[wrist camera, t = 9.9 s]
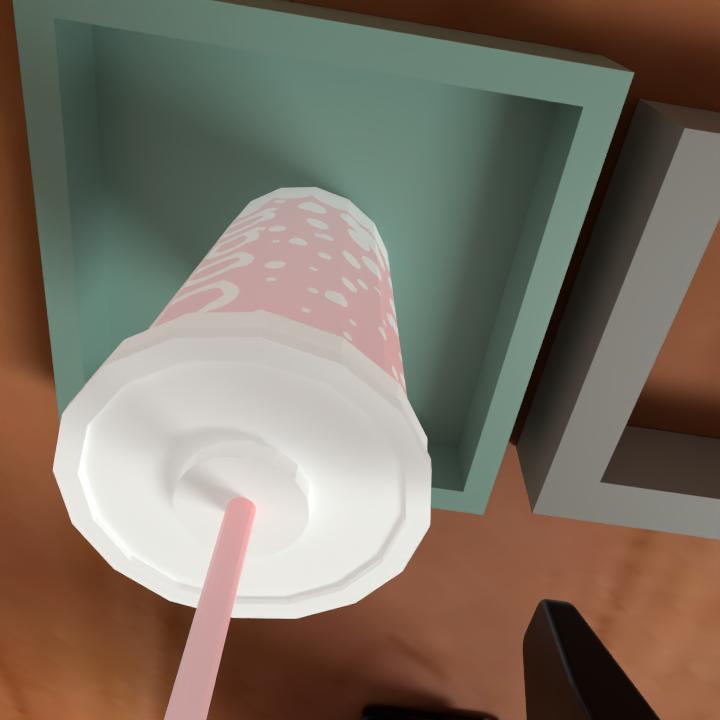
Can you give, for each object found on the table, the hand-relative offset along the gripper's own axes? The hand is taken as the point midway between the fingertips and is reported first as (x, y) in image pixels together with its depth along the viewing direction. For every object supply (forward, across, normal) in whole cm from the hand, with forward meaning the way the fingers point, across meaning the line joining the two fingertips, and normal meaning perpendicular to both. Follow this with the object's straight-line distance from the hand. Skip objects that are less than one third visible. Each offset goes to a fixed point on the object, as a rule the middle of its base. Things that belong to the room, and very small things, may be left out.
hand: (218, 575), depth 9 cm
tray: (+11, 0, 0) cm, 11 cm away
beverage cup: (+11, 0, 0) cm, 11 cm away
